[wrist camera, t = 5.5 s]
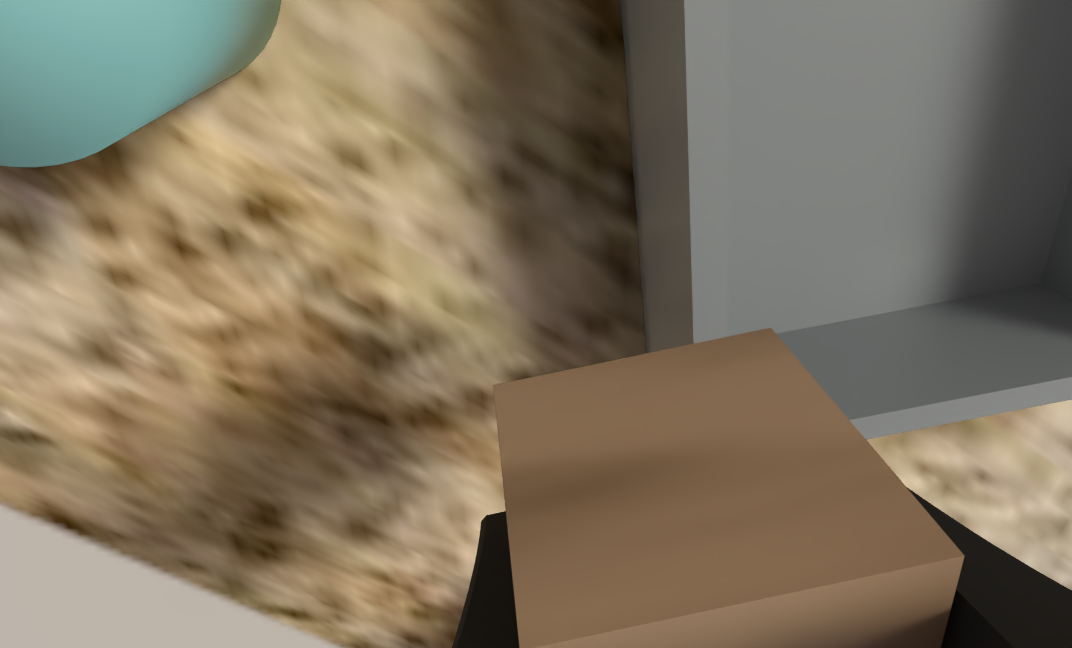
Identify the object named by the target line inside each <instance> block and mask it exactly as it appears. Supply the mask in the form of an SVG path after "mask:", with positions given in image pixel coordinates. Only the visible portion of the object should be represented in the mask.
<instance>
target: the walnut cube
mask: <svg viewBox="0 0 1072 648" xmlns="http://www.w3.org/2000/svg"><path fill="white" fill-rule="evenodd" d="M493 387H494V397H495V407H496V417H497V427H498V437H499V447H500V457H501V467H502V477H503V487H504V497H505V507H506V517H507V527H508V537H509V547H510V557H511V567H512V577H513V587H514V597H515V607H516V617H517V627H518V637H519V647H520V648H941V645H942V641H943V637H944V633H945V630H946V626H947V622H948V618H949V614H950V610H951V606H952V603H953V599H954V595H955V591H956V587H957V583H958V580H959V576H960V572H961V568H962V564H963V560H964V555H963V553H962V552H961V551H960V550H959V549H958V548H957V546H956V545H955V544H954V543H953V542H952V540H951V539H950V538H949V537H948V536H947V535H946V533H945V532H944V531H943V530H942V529H941V527H940V526H939V525H938V524H937V523H936V522H935V520H934V519H933V518H932V517H931V516H930V515H929V513H928V512H927V511H926V510H925V509H924V507H923V506H922V505H921V504H920V503H919V502H918V500H917V499H916V498H915V497H914V496H913V494H912V493H911V492H910V491H909V490H908V489H907V487H906V486H905V485H904V484H903V483H902V482H901V480H900V479H899V478H898V477H897V476H896V474H895V473H894V472H893V471H892V470H891V469H890V467H889V466H888V465H887V464H886V463H885V462H884V460H883V459H882V458H881V457H880V456H879V454H878V453H877V452H876V451H875V450H874V449H873V447H872V446H871V445H870V444H869V443H868V441H867V440H866V439H865V438H864V437H863V436H862V434H861V433H860V432H859V431H858V430H857V429H856V427H855V426H854V425H853V424H852V423H851V421H850V420H849V419H848V418H847V417H846V416H845V414H844V413H843V412H842V411H841V410H840V408H839V407H838V406H837V405H836V404H835V403H834V401H833V400H832V399H831V398H830V397H829V396H828V394H827V393H826V392H825V391H824V390H823V388H822V387H821V386H820V385H819V384H818V383H817V381H816V380H815V379H814V378H813V377H812V375H811V374H810V373H809V372H808V371H807V370H806V368H805V367H804V366H803V365H802V364H801V363H800V361H799V360H798V359H797V358H796V357H795V355H794V354H793V353H792V352H791V351H790V350H789V348H788V347H787V346H786V345H785V344H784V343H783V341H782V340H781V339H780V338H779V337H778V335H777V334H776V333H775V332H774V331H773V330H772V328H767V329H762V330H757V331H752V332H747V333H743V334H738V335H733V336H728V337H723V338H718V339H714V340H709V341H704V342H699V343H694V344H690V345H685V346H680V347H675V348H670V349H665V350H661V351H656V352H651V353H646V354H641V355H637V356H632V357H627V358H622V359H617V360H612V361H608V362H603V363H598V364H593V365H588V366H584V367H579V368H574V369H569V370H564V371H559V372H555V373H550V374H545V375H540V376H535V377H531V378H526V379H521V380H516V381H511V382H507V383H502V384H497V385H493Z"/></svg>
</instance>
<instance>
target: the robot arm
mask: <svg viewBox="0 0 1072 648" xmlns="http://www.w3.org/2000/svg"><path fill="white" fill-rule="evenodd" d="M907 489H908V490H909V491H910V492H911V493H912V494H913V496H914V497H915V498H916V499H917V500H918V502H919V503H920V504H921V505H922V506H923V507H924V509H925V510H926V511H927V512H928V513H929V515H930V516H931V517H932V518H933V519H934V520H935V522H936V523H937V524H938V525H939V526H940V527H941V529H942V530H943V531H944V532H945V533H946V535H947V536H948V537H949V538H950V539H951V540H952V542H953V543H954V544H955V545H956V546H957V548H958V549H959V550H960V551H961V552H962V553H963V555H964V560H963V564H962V568H961V572H960V576H959V580H958V583H957V587H956V591H955V595H954V599H953V603H952V606H951V610H950V614H949V618H948V622H947V626H946V630H945V633H944V637H943V641H942V645H941V648H1072V590H1070V589H1068V588H1066V587H1064V586H1063V585H1061V584H1059V583H1057V582H1055V581H1054V580H1052V579H1050V578H1048V577H1047V576H1045V575H1043V574H1041V573H1040V572H1038V571H1036V570H1034V569H1033V568H1031V567H1029V566H1028V565H1026V564H1024V563H1023V562H1021V561H1019V560H1018V559H1016V558H1015V557H1013V556H1011V555H1010V554H1008V553H1006V552H1005V551H1003V550H1001V549H1000V548H998V547H996V546H995V545H993V544H991V543H990V542H988V541H987V540H985V539H984V538H982V537H980V536H979V535H977V534H976V533H974V532H973V531H971V530H969V529H968V528H966V527H965V526H963V525H962V524H960V523H959V522H957V521H956V520H954V519H953V518H951V517H950V516H948V515H947V514H945V513H944V512H942V511H941V510H939V509H938V508H936V507H935V506H933V505H932V504H930V503H929V502H927V501H926V500H924V499H923V498H922V497H920V496H919V495H917V494H916V493H914V492H913V491H911V490H910V489H909V488H907ZM452 648H520V647H519V637H518V627H517V617H516V607H515V597H514V587H513V577H512V567H511V557H510V547H509V537H508V527H507V517H506V511H505V512H500V513H495V514H491V515H486V517H485V518H484V519H483V520H482V521H481V530H480V538H479V544H478V550H477V555H476V560H475V565H474V569H473V574H472V578H471V582H470V586H469V591H468V594H467V598H466V601H465V605H464V609H463V612H462V616H461V619H460V623H459V627H458V630H457V634H456V637H455V640H454V643H453V646H452Z"/></svg>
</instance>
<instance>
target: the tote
mask: <svg viewBox="0 0 1072 648" xmlns="http://www.w3.org/2000/svg"><path fill="white" fill-rule="evenodd" d="M621 11H622V25H623V39H624V53H625V66H626V80H627V94H628V108H629V121H630V135H631V149H632V163H633V176H634V190H635V204H636V218H637V231H638V245H639V259H640V273H641V286H642V300H643V314H644V328H645V341H646V353H651V352H656V351H661V350H665V349H670V348H675V347H680V346H685V345H690V344H694V343H699V342H704V341H709V340H714V339H718V338H723V337H728V336H733V335H738V334H743V333H747V332H752V331H757V330H762V329H767V328H772V330H773V331H774V332H775V333H776V334H777V335H778V337H779V338H780V339H781V340H782V341H783V343H784V344H785V345H786V346H787V347H788V348H789V350H790V351H791V352H792V353H793V354H794V355H795V357H796V358H797V359H798V360H799V361H800V363H801V364H802V365H803V366H804V367H805V368H806V370H807V371H808V372H809V373H810V374H811V375H812V377H813V378H814V379H815V380H816V381H817V383H818V384H819V385H820V386H821V387H822V388H823V390H824V391H825V392H826V393H827V394H828V396H829V397H830V398H831V399H832V400H833V401H834V403H835V404H836V405H837V406H838V407H839V408H840V410H841V411H842V412H843V413H844V414H845V416H846V417H847V418H848V419H849V420H850V421H851V423H852V424H853V425H854V426H855V427H856V429H857V430H858V431H859V432H860V433H861V434H862V436H863V437H864V438H865V439H871V438H876V437H881V436H887V435H892V434H897V433H902V432H907V431H912V430H917V429H923V428H928V427H933V426H938V425H943V424H948V423H953V422H958V421H964V420H969V419H974V418H979V417H984V416H989V415H994V414H999V413H1005V412H1010V411H1015V410H1020V409H1025V408H1030V407H1035V406H1041V405H1046V404H1051V403H1056V402H1061V401H1066V400H1071V399H1072V0H621Z"/></svg>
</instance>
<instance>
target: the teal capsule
mask: <svg viewBox="0 0 1072 648" xmlns="http://www.w3.org/2000/svg"><path fill="white" fill-rule="evenodd" d="M280 3H281V0H0V165H1V166H9V167H42V166H51V165H59V164H63V163H67V162H71V161H75V160H79V159H82V158H84V157H87V156H89V155H92V154H94V153H96V152H99V151H101V150H102V149H104V148H106V147H108V146H109V145H111V144H113V143H115V142H116V141H118V140H120V139H122V138H123V137H125V136H127V135H129V134H130V133H132V132H134V131H136V130H137V129H139V128H141V127H143V126H144V125H146V124H148V123H150V122H151V121H153V120H155V119H157V118H158V117H160V116H162V115H164V114H165V113H167V112H169V111H171V110H172V109H174V108H176V107H178V106H179V105H181V104H183V103H185V102H186V101H188V100H190V99H192V98H193V97H195V96H197V95H199V94H200V93H202V92H204V91H206V90H207V89H209V88H211V87H213V86H214V85H216V84H218V83H220V82H221V81H223V80H225V79H227V78H228V77H230V76H232V75H234V74H235V73H237V72H239V71H240V70H242V69H243V68H245V67H246V66H247V65H249V64H250V63H251V62H252V61H253V60H254V59H255V58H256V57H257V56H258V55H259V54H260V53H261V51H262V50H263V49H264V47H265V46H266V44H267V43H268V41H269V39H270V38H271V35H272V33H273V31H274V28H275V26H276V23H277V19H278V15H279V11H280Z"/></svg>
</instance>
